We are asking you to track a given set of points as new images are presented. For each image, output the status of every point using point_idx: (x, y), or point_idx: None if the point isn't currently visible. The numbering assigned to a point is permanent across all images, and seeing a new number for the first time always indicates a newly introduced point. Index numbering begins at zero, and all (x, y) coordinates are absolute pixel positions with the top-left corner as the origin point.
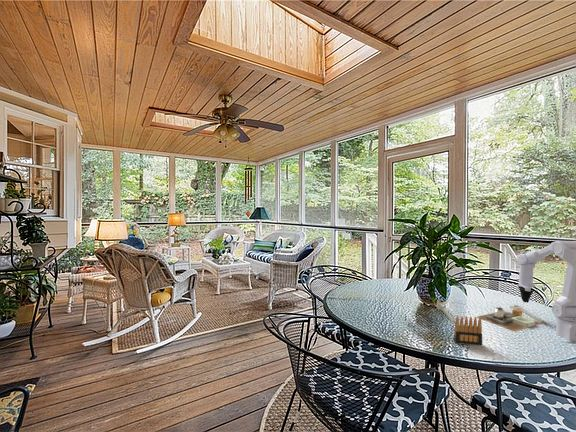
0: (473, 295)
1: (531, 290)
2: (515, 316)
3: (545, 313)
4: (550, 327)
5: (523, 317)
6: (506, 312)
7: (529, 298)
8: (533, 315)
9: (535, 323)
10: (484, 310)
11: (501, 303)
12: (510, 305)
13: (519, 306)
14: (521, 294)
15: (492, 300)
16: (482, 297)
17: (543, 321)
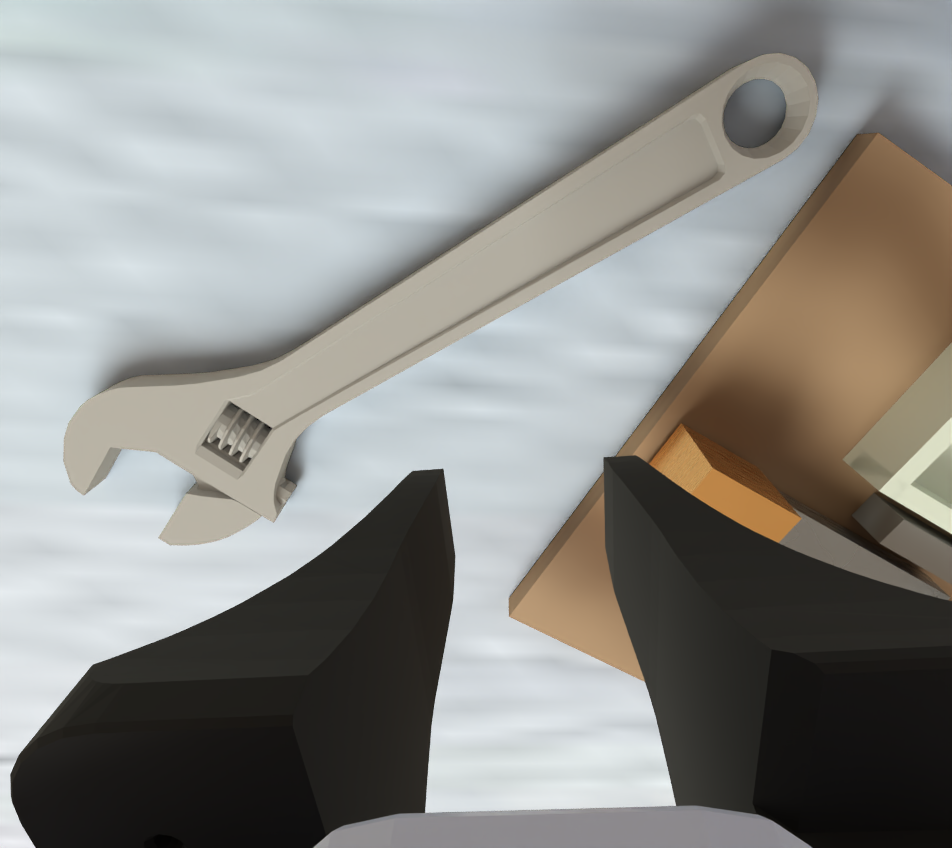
0: (15, 839)
1: (913, 738)
2: (812, 515)
3: (52, 32)
4: (904, 15)
5: (941, 439)
6: (569, 585)
7: (698, 501)
8: (468, 256)
9: (926, 252)
10: (565, 753)
11: (77, 608)
12: (167, 539)
13: (106, 432)
14: (433, 684)
15: (34, 690)
16: (6, 772)
17: (723, 114)
